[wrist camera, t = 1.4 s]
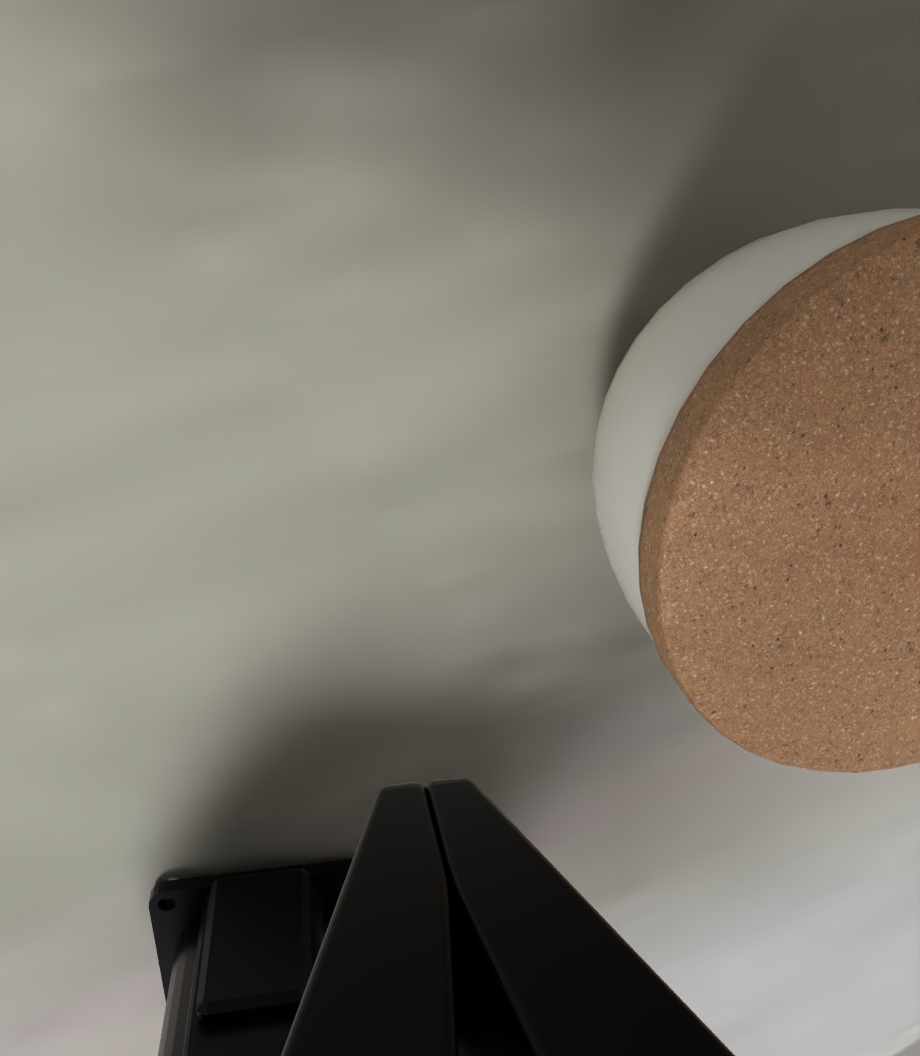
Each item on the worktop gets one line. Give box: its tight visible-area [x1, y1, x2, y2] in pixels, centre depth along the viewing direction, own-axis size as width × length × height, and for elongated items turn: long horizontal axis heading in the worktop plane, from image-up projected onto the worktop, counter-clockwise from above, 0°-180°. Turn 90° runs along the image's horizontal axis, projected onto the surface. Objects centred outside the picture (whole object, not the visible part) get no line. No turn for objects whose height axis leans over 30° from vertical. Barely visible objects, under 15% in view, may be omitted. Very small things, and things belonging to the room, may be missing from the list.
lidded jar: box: [592, 209, 920, 773], centre depth 17 cm, size 11×11×9 cm
